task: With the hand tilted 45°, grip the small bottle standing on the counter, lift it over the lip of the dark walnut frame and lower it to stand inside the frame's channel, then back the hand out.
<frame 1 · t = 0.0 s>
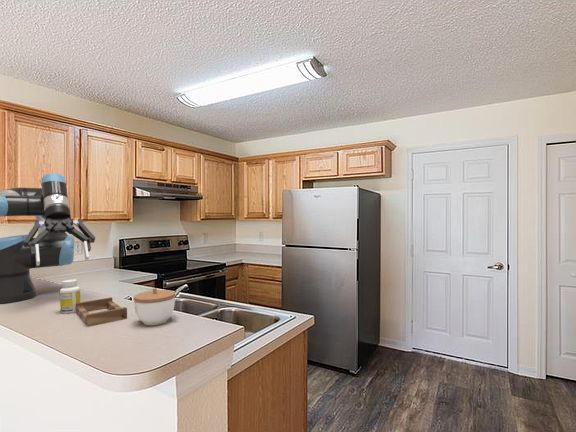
hand: (63, 261, 111), 15 cm above the counter, tool tilted 35°, fingers open, 13 cm apart
lidded jar: (155, 322, 94), on the counter
supplement bottle: (70, 312, 106), on the counter
walnut frame: (100, 315, 101), on the counter
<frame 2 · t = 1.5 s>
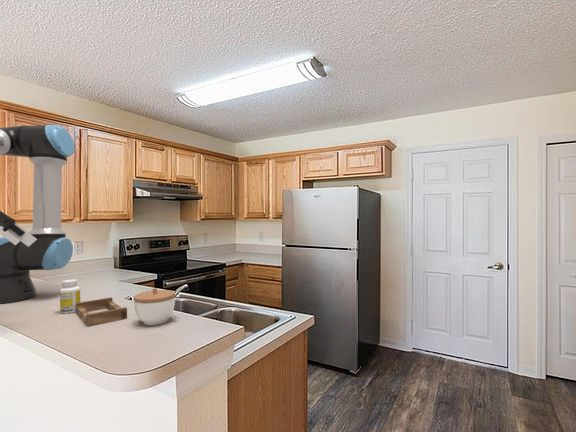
hand: (25, 242, 97), 23 cm above the counter, tool tilted 45°, fingers open, 13 cm apart
nothing on the counter moved.
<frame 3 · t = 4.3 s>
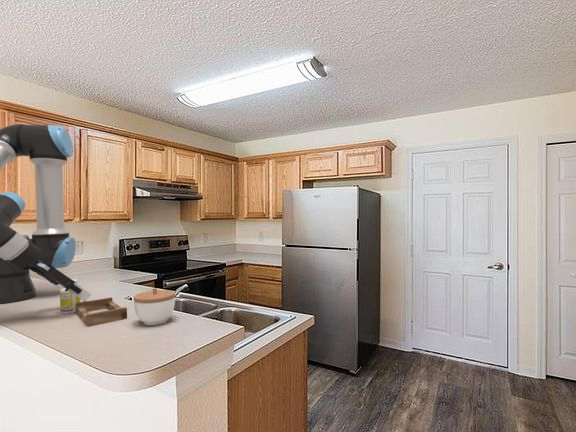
hand: (82, 295, 108), 4 cm above the counter, tool tilted 45°, fingers open, 8 cm apart
nothing on the counter moved.
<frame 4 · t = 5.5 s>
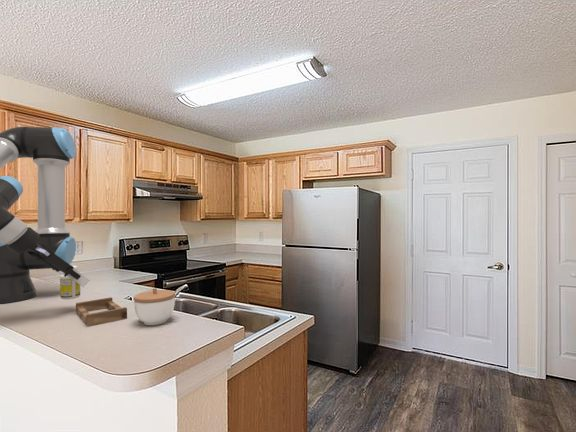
hand: (82, 282, 108), 9 cm above the counter, tool tilted 45°, fingers closed on supplement bottle, 5 cm apart
supplement bottle: (70, 297, 106), point 4 cm above the counter, touching gripper
everything else where it was.
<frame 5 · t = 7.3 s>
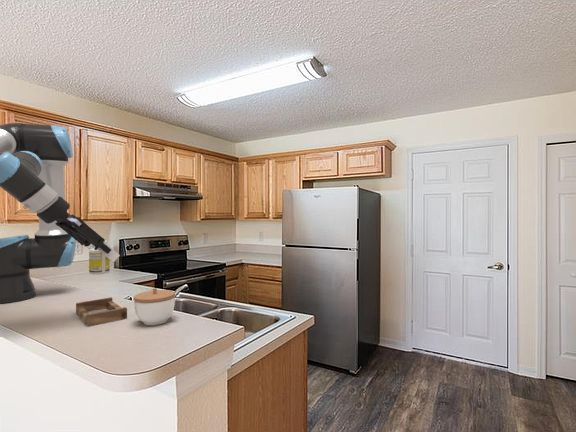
hand: (111, 258, 103), 17 cm above the counter, tool tilted 45°, fingers closed on supplement bottle, 5 cm apart
supplement bottle: (99, 273, 101), point 13 cm above the counter, touching gripper
everything else where it was.
when the fingers open (5 cm above the counter, at t = 9.6 s): supplement bottle drops 1 cm, resting in walnut frame.
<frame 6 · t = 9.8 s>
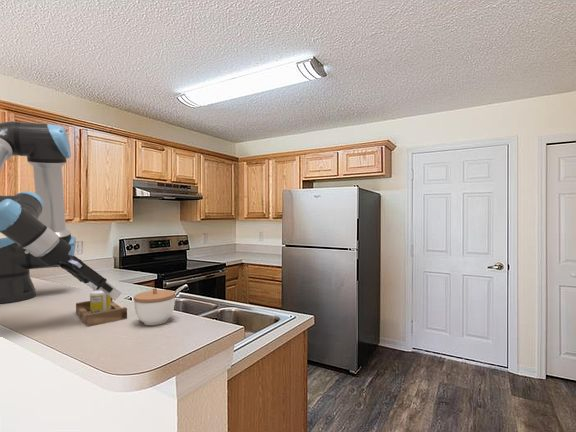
hand: (112, 294, 103), 6 cm above the counter, tool tilted 45°, fingers open, 7 cm apart
supplement bottle: (100, 315, 101), resting in walnut frame
everything else where it was.
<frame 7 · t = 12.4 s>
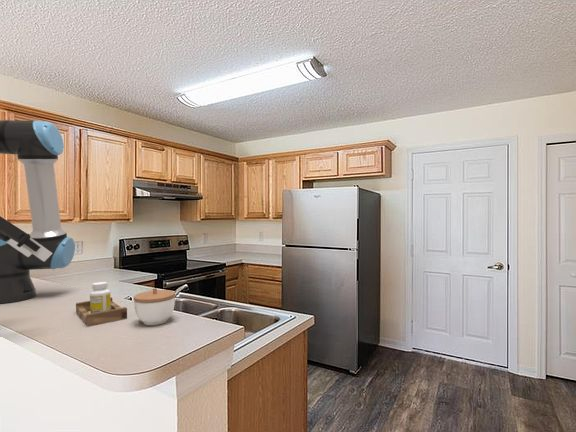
hand: (39, 255, 91), 20 cm above the counter, tool tilted 45°, fingers open, 13 cm apart
nothing on the counter moved.
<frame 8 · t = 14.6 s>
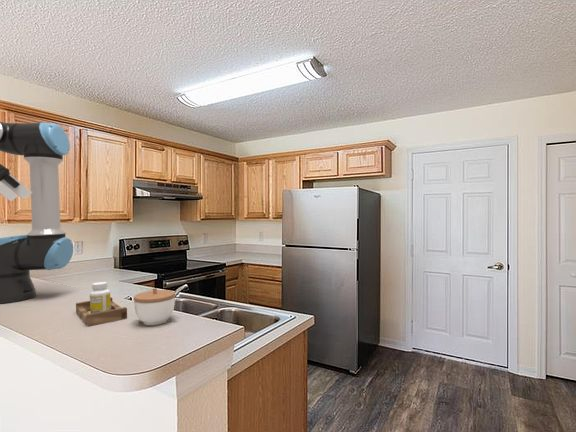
hand: (21, 197, 94), 36 cm above the counter, tool tilted 45°, fingers open, 13 cm apart
nothing on the counter moved.
at the end: supplement bottle inside the target area on the walnut frame (0.1 cm from its centre), point 0.0 cm above the walnut frame's base; supplement bottle tilted 0°; the gripper is holding nothing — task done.
